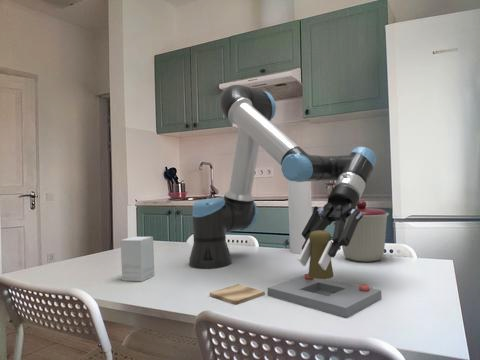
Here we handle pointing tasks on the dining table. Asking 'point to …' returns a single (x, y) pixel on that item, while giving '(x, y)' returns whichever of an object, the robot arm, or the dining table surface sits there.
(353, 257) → the canister
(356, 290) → the plate
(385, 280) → the dining table surface
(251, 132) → the robot arm
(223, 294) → the coaster
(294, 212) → the cylinder container
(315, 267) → the olive pawn
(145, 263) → the supplement box
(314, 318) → the dining table surface
